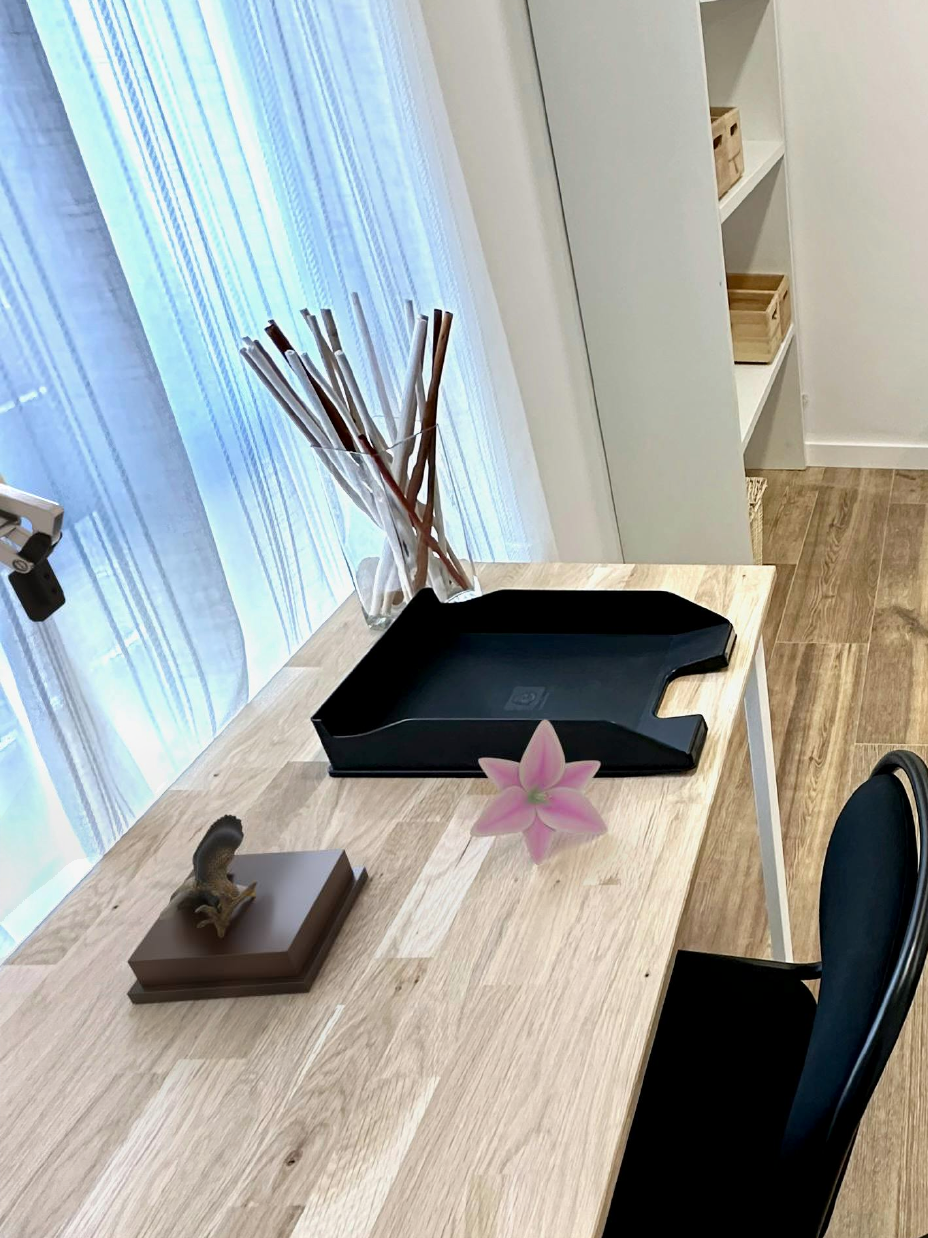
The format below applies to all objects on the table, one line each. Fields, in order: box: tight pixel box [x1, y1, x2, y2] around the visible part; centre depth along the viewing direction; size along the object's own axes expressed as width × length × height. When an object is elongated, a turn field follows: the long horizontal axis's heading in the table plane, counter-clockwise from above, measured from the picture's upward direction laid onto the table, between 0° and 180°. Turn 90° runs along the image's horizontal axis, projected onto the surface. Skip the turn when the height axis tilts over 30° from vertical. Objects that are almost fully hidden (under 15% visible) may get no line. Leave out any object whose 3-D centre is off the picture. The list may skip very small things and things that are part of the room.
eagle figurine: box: [159, 813, 257, 938], centre depth 87 cm, size 8×7×9 cm
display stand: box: [126, 848, 369, 1005], centre depth 90 cm, size 13×13×4 cm
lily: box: [469, 718, 608, 866], centre depth 101 cm, size 12×12×10 cm
